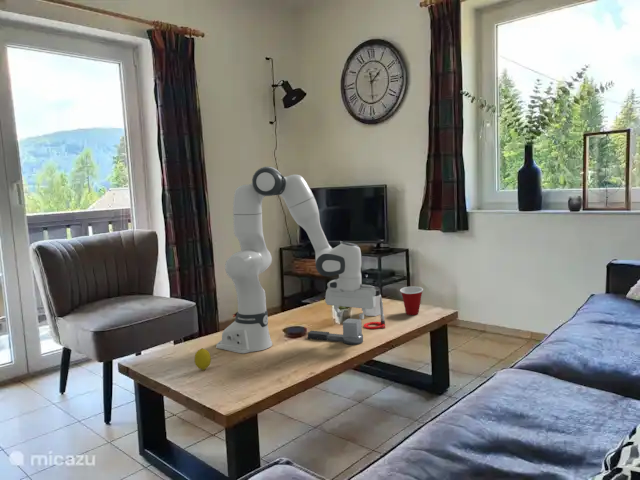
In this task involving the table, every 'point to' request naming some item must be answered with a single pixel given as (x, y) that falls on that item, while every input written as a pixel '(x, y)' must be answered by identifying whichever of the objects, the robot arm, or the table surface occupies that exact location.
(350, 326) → the grey wooden cube
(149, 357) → the table surface
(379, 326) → the tow hook
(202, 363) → the lemon
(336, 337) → the ratchet
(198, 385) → the table surface
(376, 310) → the jar
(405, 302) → the plastic cup
